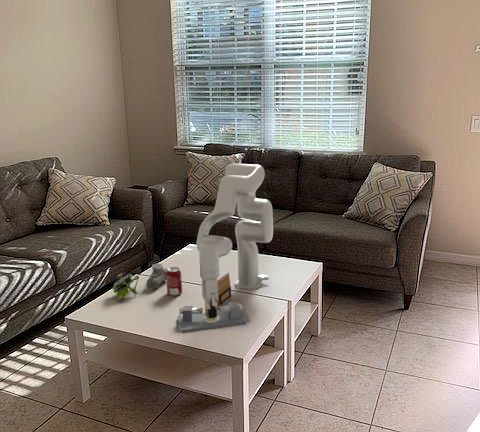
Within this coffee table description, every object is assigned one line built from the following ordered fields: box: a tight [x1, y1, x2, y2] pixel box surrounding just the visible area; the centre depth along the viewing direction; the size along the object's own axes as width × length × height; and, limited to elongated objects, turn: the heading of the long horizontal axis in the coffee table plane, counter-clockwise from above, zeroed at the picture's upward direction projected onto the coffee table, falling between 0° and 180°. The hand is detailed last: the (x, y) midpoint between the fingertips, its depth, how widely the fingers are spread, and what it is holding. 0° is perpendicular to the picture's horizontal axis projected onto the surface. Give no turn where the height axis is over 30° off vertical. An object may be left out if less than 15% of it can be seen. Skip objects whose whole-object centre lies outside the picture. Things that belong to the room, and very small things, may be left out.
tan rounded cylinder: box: [204, 300, 218, 318], centre depth 204 cm, size 5×5×7 cm
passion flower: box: [111, 272, 140, 301], centre depth 231 cm, size 13×12×14 cm
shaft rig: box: [177, 301, 247, 334], centre depth 205 cm, size 26×12×6 cm, turn 104°
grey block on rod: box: [179, 305, 204, 322], centre depth 205 cm, size 9×4×5 cm, turn 89°
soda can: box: [166, 266, 183, 297], centre depth 232 cm, size 7×7×12 cm
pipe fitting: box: [146, 263, 168, 290], centre depth 242 cm, size 12×8×10 cm, turn 163°
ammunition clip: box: [217, 272, 232, 307], centre depth 223 cm, size 11×2×12 cm, turn 152°
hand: (211, 314), depth 205 cm, fingers closed on tan rounded cylinder, 4 cm apart
